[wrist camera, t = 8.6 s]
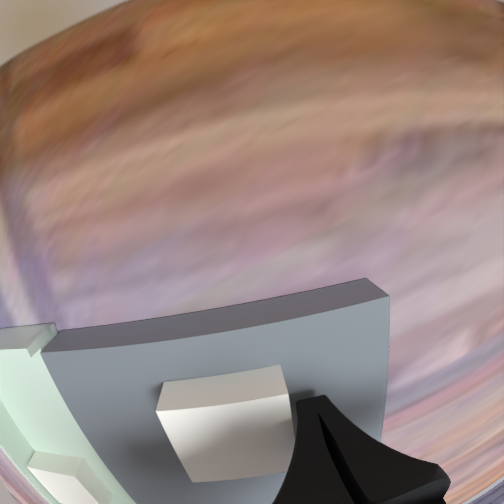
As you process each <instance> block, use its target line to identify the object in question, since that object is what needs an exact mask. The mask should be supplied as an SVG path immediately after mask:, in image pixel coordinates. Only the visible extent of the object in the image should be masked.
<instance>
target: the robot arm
mask: <svg viewBox="0 0 504 504" xmlns="http://www.w3.org/2000/svg"><path fill="white" fill-rule="evenodd" d="M295 404H296V411H297V432H296V439H295V445H294V450H293V454H292V458H291V461H290V465H289V468H288V471H287V473H286V476H285V479H284V481H283V483H282V486H281V488H280V490H279V492H278V494H277V496H276V498H275V500H274V501H273V503H272V504H446V502H445V501H444V499H443V497H444V495H445V494H446V492H447V490H448V488H449V486H450V483H451V481H450V479H449V477H448V475H447V474H446V473H445V472H444V470H443V469H442V468H441V467H440V466H439V465H438V464H435V463H431V462H427V461H423V460H419V459H416V458H413V457H410V456H407V455H405V454H403V453H401V452H398V451H396V450H394V449H392V448H390V447H388V446H386V445H384V444H382V443H381V442H379V441H377V440H376V439H374V438H372V437H371V436H370V435H368V434H367V433H365V432H364V431H363V430H361V429H360V428H359V427H357V426H356V425H355V424H354V423H353V422H352V421H350V420H349V419H348V418H347V417H346V416H345V415H344V414H343V413H342V412H341V411H340V410H339V409H338V408H337V407H336V406H335V405H334V404H333V403H332V402H331V400H330V399H329V398H328V397H327V396H326V395H324V394H323V395H319V396H315V397H311V398H307V399H302V400H298V401H297V402H296V403H295ZM469 504H504V481H502V482H501V483H499V484H498V485H497V486H495V487H494V488H492V489H491V490H489V491H488V492H486V493H485V494H483V495H482V496H480V497H479V498H477V499H475V500H474V501H472V502H471V503H469Z"/></svg>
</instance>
